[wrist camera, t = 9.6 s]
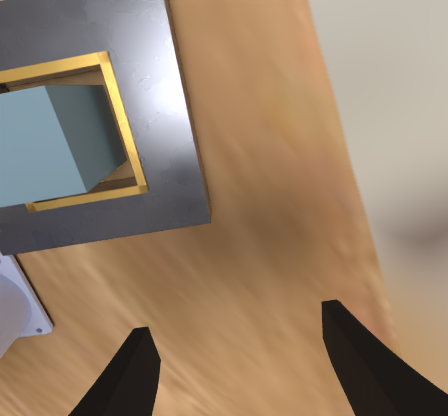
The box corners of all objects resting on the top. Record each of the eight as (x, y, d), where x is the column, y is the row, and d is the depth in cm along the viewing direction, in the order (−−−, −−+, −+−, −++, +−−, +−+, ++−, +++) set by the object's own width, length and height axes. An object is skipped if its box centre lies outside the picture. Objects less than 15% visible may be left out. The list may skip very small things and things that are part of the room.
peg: (60, 171, 18) (-7, 208, 13) (30, 99, 16) (-64, 106, 11) (126, 159, 18) (87, 192, 13) (103, 85, 16) (44, 85, 11)
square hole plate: (22, 240, 20) (0, 257, 18) (-88, 35, 15) (-135, 27, 13) (211, 209, 20) (210, 224, 18) (164, -17, 14) (156, -34, 12)
